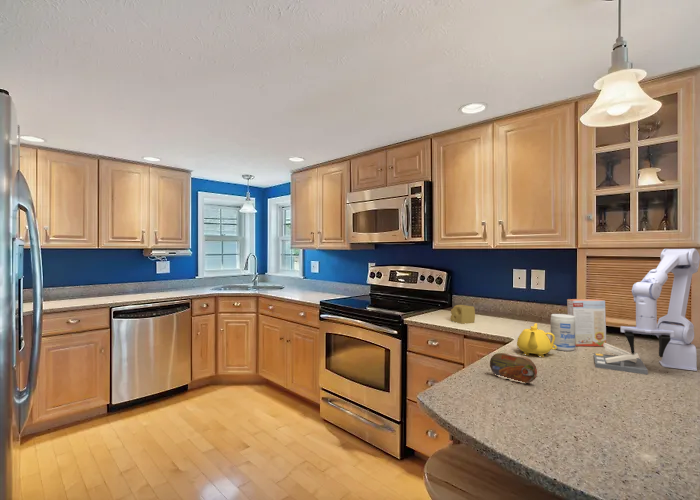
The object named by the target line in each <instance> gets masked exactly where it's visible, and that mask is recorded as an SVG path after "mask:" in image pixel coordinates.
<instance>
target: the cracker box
mask: <svg viewBox="0 0 700 500" xmlns="http://www.w3.org/2000/svg"><path fill="white" fill-rule="evenodd" d="M566 301H567V302H566V303H567V304H566V305H567V308H566V309H567V315H572V316H575V347H603V348H604V346H603V344H604V342H605V343H607V327H606V326H607V325H606V321H607V318H606V315H607V314H606V300H604V299H601V298H600V299H599V298H598V299H597V298H591V299H590V298H572V299H571V298H568V299H566Z"/></svg>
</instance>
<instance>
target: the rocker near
mask: <svg viewBox="0 0 700 500" xmlns="http://www.w3.org/2000/svg"><path fill="white" fill-rule="evenodd" d="M614 356H615V357H609V358H605V360H606V362H607V363H611V362H617V361H623V360H629V359H635V358H639V359H641V358H640V356H639V354H638V352H634V354H626V355H620V356H617V355H614Z"/></svg>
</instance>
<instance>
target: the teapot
mask: <svg viewBox="0 0 700 500" xmlns="http://www.w3.org/2000/svg"><path fill="white" fill-rule="evenodd" d="M529 327H530V328H524V329H523V330H522V331H521V333H520V334H519V336H518V337H517V340H516V346H517V348H518V349H519V350H520V351H521V352H523V354H526V355H525V356H530V354H535V355H537V357H538V356H541V357H540V358H545V355H546V354H548V353H549V352H550V351H552V350H553V351H556V350H557V346H556V345H553V344H554V341H555V336H554V335H553V334H552V333H551V331H549V332H545V331H544V330H543V329H540V328H539V329H538V323H537V322H536V323H534V324H533V325H532V326H529ZM548 335H549V336H551V335H552V337H553V340H552V343H551V341H550V340H551V338H549V336H548ZM553 346H555V348H553ZM523 354H522V355H523Z"/></svg>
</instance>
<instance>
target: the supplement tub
mask: <svg viewBox="0 0 700 500" xmlns="http://www.w3.org/2000/svg"><path fill="white" fill-rule="evenodd" d="M550 333H552V334H553V335H554V336H555V341H554V344H553V345H556V346H557V349H556V350H557V351H564V352H573V351H575V350H576V346H575V316H572V315H568V314H566V313H552V314H550ZM552 340H553V337H552V335H550V342H551V343H552ZM553 348H555V346H553Z"/></svg>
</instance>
